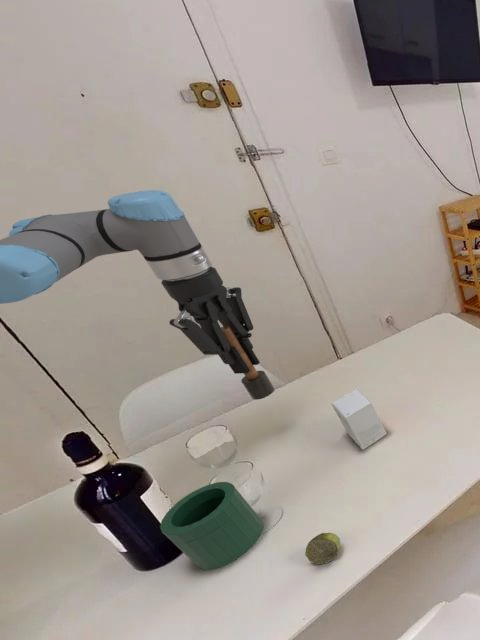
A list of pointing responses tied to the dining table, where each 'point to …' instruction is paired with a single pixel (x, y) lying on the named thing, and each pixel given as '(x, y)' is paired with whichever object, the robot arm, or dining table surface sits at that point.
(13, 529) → the dining table surface
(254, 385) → the brown and grey pestle
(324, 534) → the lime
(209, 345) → the robot arm
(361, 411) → the small box
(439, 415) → the dining table surface
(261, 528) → the green tube ring
